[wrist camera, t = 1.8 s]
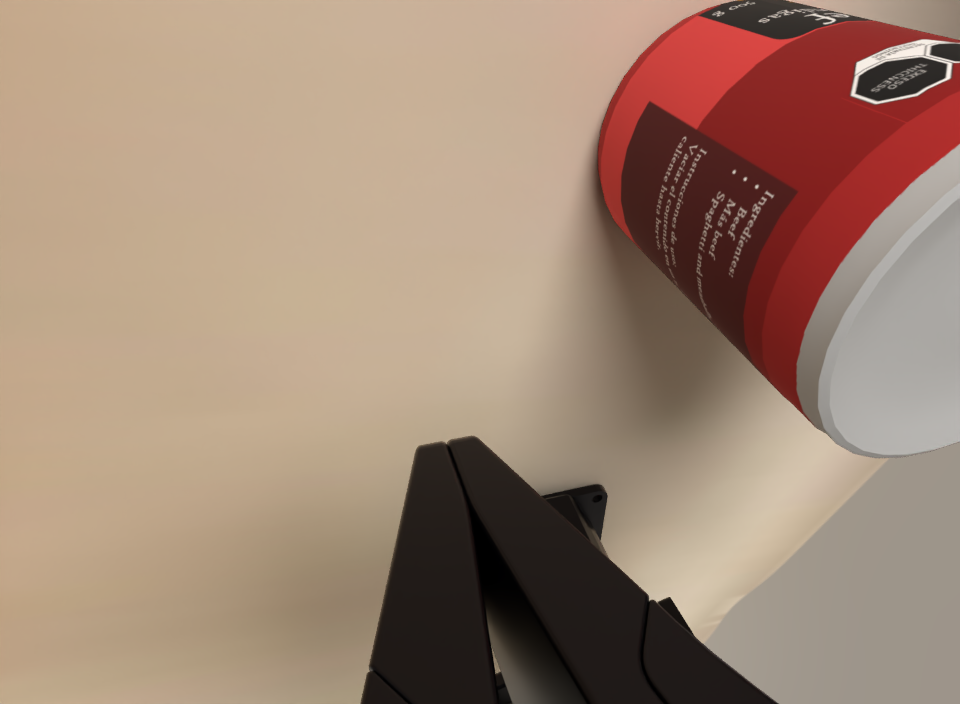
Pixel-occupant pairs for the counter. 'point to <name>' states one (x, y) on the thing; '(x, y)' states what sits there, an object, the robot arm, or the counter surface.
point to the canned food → (806, 206)
